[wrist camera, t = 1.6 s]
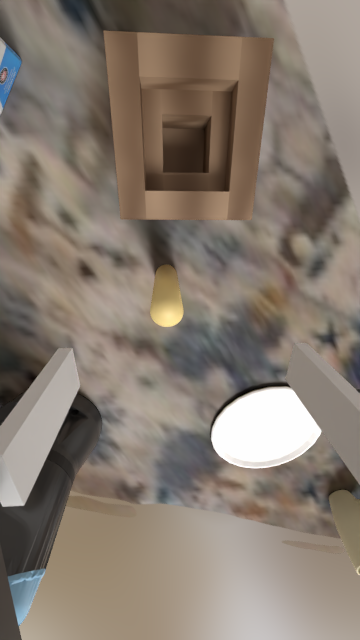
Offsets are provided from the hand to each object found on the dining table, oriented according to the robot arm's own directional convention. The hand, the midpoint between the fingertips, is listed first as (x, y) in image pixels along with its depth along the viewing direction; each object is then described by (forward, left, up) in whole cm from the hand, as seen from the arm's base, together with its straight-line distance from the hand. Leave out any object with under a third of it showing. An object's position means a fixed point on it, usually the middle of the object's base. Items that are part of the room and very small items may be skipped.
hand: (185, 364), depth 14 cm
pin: (-1, +1, -19) cm, 19 cm away
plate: (+17, -28, -19) cm, 38 cm away
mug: (+38, -50, -19) cm, 66 cm away
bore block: (+1, +14, -19) cm, 23 cm away
